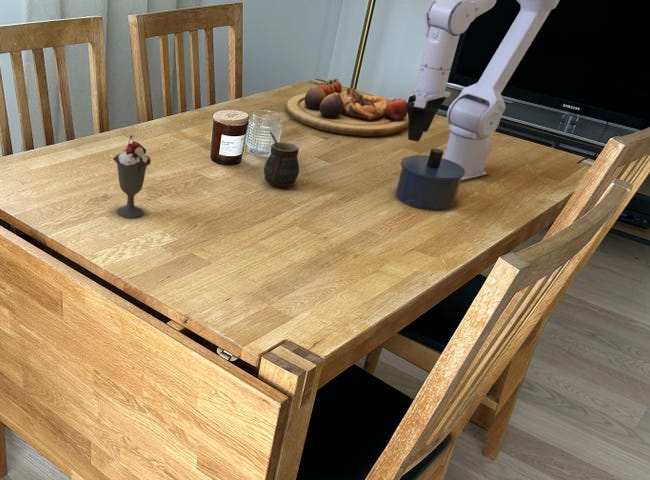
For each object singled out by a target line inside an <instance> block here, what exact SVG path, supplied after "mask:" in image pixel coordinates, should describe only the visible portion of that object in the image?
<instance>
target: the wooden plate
mask: <svg viewBox="0 0 650 480" xmlns="http://www.w3.org/2000/svg"><path fill="white" fill-rule="evenodd" d="M327 81H328V82H324V83H323V82H321V83H320V84H319V85H316V86H312V87H311V88H310V89H308V90H307V92H306V93H301V94H300V93H299V94H297V95H295V96H292V97H291V98H289V99H288V100H287V102H286V104H285V110H286V113H287V115H289V116H290V117H291V118H292V119H293V120H295V121H297V122H299V123H300V124H303V125H305V126H308V127H310V128H314V129H317V130H320V131H324V132H325V131H326V132H330V133H335V134H341V135H350V136H365V137H366V136H368V137H369V136H371V137H372V136H373V137H374V136H387V135H392V134H397V133H399V132H402V131H403V130H405V129H406V128H407V127H409V119H408V113H407V109H406V105H407V103H408V101H407V100H406V99H403V98H394V99H392V100H390V101H389V100H388V99H387V98H386V97H384V96H382V95H372V96H371V95H367V94H364V93H361V92H357V91H356V90H355V89H354V88H353V87H348V88H347V90H343V91H342V83H341V82H340V81H339V80H338V78H334V79H328V80H327Z"/></svg>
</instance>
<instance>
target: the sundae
mask: <svg viewBox="0 0 650 480" xmlns="http://www.w3.org/2000/svg"><path fill="white" fill-rule="evenodd" d="M131 141H132V142H131ZM146 153H147V149H146V147H144V146H143V145H142V144H141V143H139V142H137V141H134V139H133V135H132V134H131V135H130V136H129V140H128V143H127V144H126V146H125V147H124V149H123V150H122V152H121V153H120V152H119V153H118V154H117V155H115V156H114V157H112V158H113V159H112V160H113V161H114V163H116V168H117V174H118V183H119V188H120V190H121V191H122V192H123V193H124V194H125V195H126V197H127V198H126V199H127V201H126V204H125V206H121V207H118V208H117V210H116V214H117V215H118V216H120V217H123V218H126V219H127V218H128V219H136V218H140V217H142V216H143V215H144V214H145V212H144V210H143V209H142V208H141V207H137V206H135V196H136V195H137V194H139V193H140V191H142V190H143V185H144V182H145V181H144V180H145V176H146V170H147V167H148V166H150V165H151V163H152V161H151V157H150V156H148V155H146Z"/></svg>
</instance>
